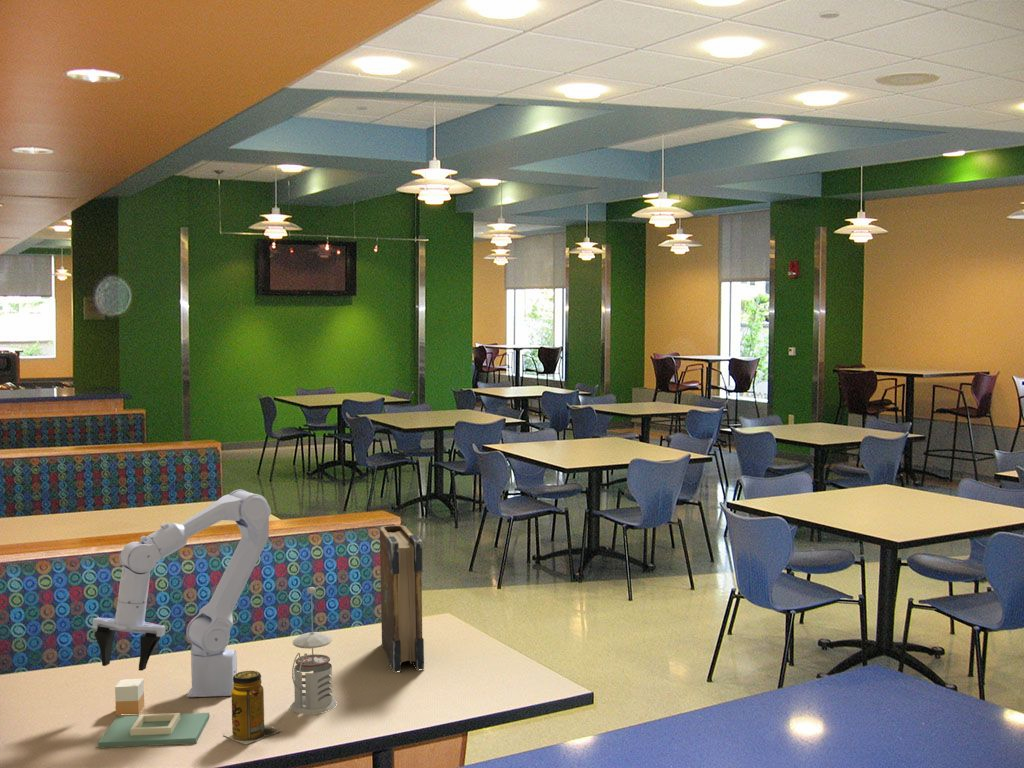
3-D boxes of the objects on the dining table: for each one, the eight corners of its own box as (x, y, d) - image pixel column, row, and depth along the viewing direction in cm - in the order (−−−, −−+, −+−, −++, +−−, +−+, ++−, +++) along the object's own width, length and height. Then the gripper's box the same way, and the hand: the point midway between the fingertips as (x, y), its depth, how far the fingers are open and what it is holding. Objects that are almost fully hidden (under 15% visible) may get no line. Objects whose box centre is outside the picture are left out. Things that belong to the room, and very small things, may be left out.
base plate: (209, 717, 208) (209, 706, 208) (196, 743, 195) (195, 731, 195) (117, 721, 206) (117, 710, 206) (98, 747, 194) (97, 736, 193)
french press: (346, 699, 217) (344, 583, 216) (318, 719, 206) (315, 596, 205) (305, 694, 221) (302, 579, 219) (275, 714, 210) (273, 593, 208)
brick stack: (144, 706, 214) (143, 678, 214) (138, 714, 210) (137, 686, 210) (122, 707, 214) (121, 679, 214) (115, 715, 210) (115, 687, 209)
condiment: (223, 736, 199) (221, 675, 198) (259, 722, 205) (258, 663, 205) (245, 745, 194) (244, 683, 193) (282, 732, 201) (280, 671, 200)
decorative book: (424, 670, 236) (422, 540, 234) (393, 673, 234) (391, 542, 232) (406, 640, 258) (405, 521, 257) (378, 642, 256) (376, 523, 255)
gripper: (89, 600, 209) (80, 667, 208) (159, 608, 208) (150, 676, 208) (104, 594, 216) (96, 659, 215) (172, 602, 215) (164, 668, 215)
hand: (123, 667), depth 212 cm, fingers open, 7 cm apart
